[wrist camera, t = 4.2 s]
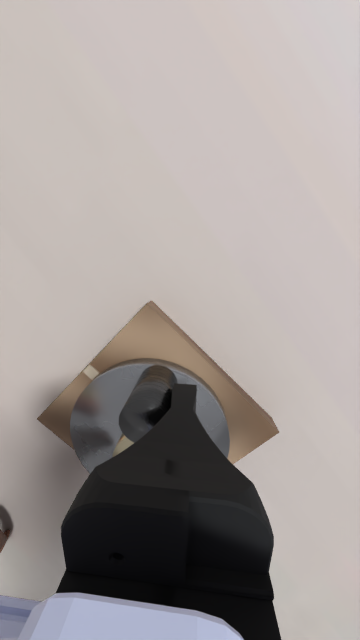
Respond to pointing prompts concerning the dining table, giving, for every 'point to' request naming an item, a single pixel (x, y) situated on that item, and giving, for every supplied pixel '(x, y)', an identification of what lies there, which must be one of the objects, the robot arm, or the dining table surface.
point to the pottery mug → (3, 538)
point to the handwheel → (137, 408)
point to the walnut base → (177, 347)
